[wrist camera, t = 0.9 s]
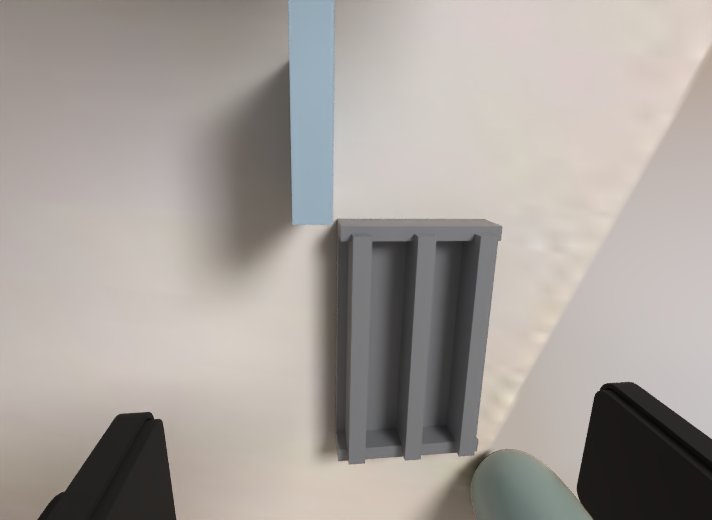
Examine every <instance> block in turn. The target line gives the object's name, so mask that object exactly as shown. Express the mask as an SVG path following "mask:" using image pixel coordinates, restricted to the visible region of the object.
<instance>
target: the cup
mask: <svg viewBox="0 0 712 520" xmlns="http://www.w3.org/2000/svg"><path fill="white" fill-rule="evenodd" d="M470 495H471V502H472V507H473V511H474V515H475V518H476V520H593V518H592V517H591V516H590V514H589V513H588V512H587V511H586V509H585V508H584V507H583V505H582V504H581V503H580V501H579V500H578V499H577V498H576V497H575V495H574V494H573V493H572V492H571V491H570V489H568V487H567V486H566V485H565V484H564V483H563V482H562V481H561V479H560V478H559V477H558V476H557V475H556V474H555V473H554V472H553V471H552V470H551V469H550V468H549V467H548V466H546V465H545V464H544V463H543V462H541V461H540V460H538V459H537V458H535V457H534V456H532V455H530V454H528V453H525V452H523V451H519V450H513V449H505V450H499V451H496V452H493V453H492V454H490V455H488V456H487V457H486V458H484V460H483V461H482V462H481V463H480V464H479V466H478V467H477V469H476V471H475V473H474V475H473V478H472V481H471V490H470Z"/></svg>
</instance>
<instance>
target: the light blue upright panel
mask: <svg viewBox="0 0 712 520" xmlns="http://www.w3.org/2000/svg"><path fill="white" fill-rule="evenodd" d="M334 7H335V0H288V9H289V65H290V121H291V177H292V225H333V141H334Z"/></svg>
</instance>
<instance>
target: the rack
mask: <svg viewBox="0 0 712 520" xmlns="http://www.w3.org/2000/svg"><path fill="white" fill-rule="evenodd" d="M501 234H502V226H500V225H498V224H495V223H492V222H490V221H487V220H485V219H337V307H336V405H335V438H336V446H337V455H338V461H346V460H348V462H349V464H362V463H365V459H374V458H388V457H402V456H404V459H405V460H417V459H421V455H429V454H443V453H457V454H458V456H472V455H474V452H475V451H477V446H478V439H477V438H476V434H477V425H478V416H479V407H480V398H481V389H482V380H483V371H484V362H485V353H486V344H487V335H488V326H489V317H490V308H491V299H492V290H493V281H494V272H495V264H496V255H497V246H498V241H501Z"/></svg>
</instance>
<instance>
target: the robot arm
mask: <svg viewBox="0 0 712 520" xmlns="http://www.w3.org/2000/svg"><path fill="white" fill-rule="evenodd" d="M577 493H578V497H579V500H580V502H581V504H582V505H583V507H584V508H585V509H586V511H587V512H588V513H589V514H590V516H591V517H592V518H593V520H712V439H710V438H709V437H708V436H707V435H705V434H704V433H702V432H701V431H700V430H698V429H697V428H696V427H694V426H693V425H692V424H690V423H689V422H687V421H686V420H685V419H683V418H682V417H681V416H679V415H678V414H677V413H675V412H674V411H672V410H671V409H670V408H668V407H667V406H666V405H664V404H663V403H661V402H660V401H659V400H657V399H656V398H655V397H653V396H652V395H650V394H649V393H648V392H646V391H645V390H644V389H642V388H641V387H639V386H638V385H636V384H634V383H632V382H621V383H607V384H604V385H603V386H602V387H601V388H600V391H598V392H597V393H596V394H595V397H594V402H593V407H592V412H591V417H590V422H589V427H588V433H587V437H586V442H585V448H584V452H583V457H582V463H581V468H580V473H579V478H578V483H577ZM38 520H176V515H175V507H174V500H173V493H172V485H171V478H170V471H169V463H168V456H167V449H166V441H165V434H164V427H163V422H162V420H161V419H154V417H153V415H152V413H150V412H142V413H126V414H119V415H117V416H116V418H115V419H114V420H113V422H112V423H111V425H110V426H109V428H108V429H107V431H106V432H105V433H104V435H103V436H102V438H101V439H100V441H99V442H98V444H97V445H96V447H95V448H94V450H93V451H92V453H91V454H90V455H89V457H88V458H87V460H86V461H85V463H84V464H83V466H82V467H81V469H80V470H79V472H78V473H77V475H76V476H75V478H74V479H73V480H72V482H71V483H70V485H69V486H68V488H67V489H66V491H65V492H62V493H60V494H58V495H57V496H55V497H54V498H53V500H52V501H51V502H50V503H49V504H48V505H47V507H46V508H45V510H44V511H43V513H42V514H41V515H40V517H39V518H38Z"/></svg>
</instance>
